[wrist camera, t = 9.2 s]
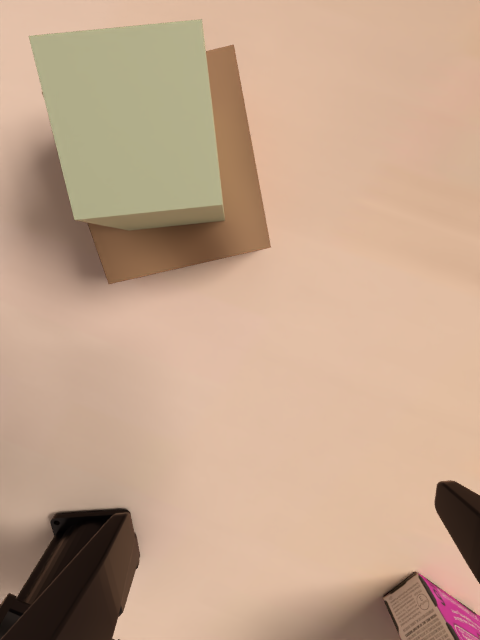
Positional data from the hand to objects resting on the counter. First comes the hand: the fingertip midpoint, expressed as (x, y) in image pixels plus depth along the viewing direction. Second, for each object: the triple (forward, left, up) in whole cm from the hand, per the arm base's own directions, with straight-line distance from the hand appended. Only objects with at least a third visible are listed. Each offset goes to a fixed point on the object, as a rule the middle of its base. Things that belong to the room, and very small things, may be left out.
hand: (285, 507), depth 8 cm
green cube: (-4, +11, -9) cm, 15 cm away
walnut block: (-4, +11, -13) cm, 17 cm away
